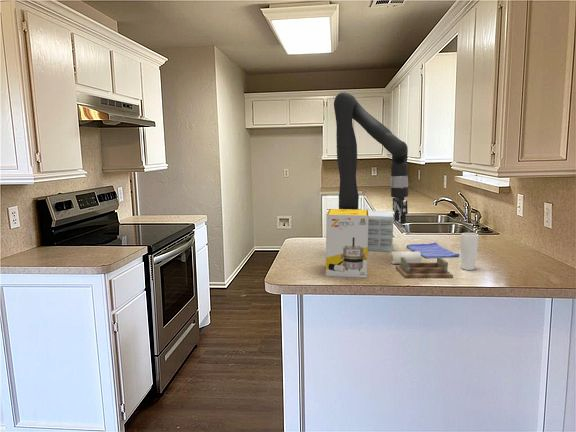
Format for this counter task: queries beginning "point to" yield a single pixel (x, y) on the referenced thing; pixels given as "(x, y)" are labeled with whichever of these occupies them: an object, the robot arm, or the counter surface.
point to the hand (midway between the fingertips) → (400, 222)
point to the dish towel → (432, 251)
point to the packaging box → (346, 243)
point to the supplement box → (380, 231)
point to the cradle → (424, 269)
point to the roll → (409, 256)
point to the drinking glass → (469, 250)
